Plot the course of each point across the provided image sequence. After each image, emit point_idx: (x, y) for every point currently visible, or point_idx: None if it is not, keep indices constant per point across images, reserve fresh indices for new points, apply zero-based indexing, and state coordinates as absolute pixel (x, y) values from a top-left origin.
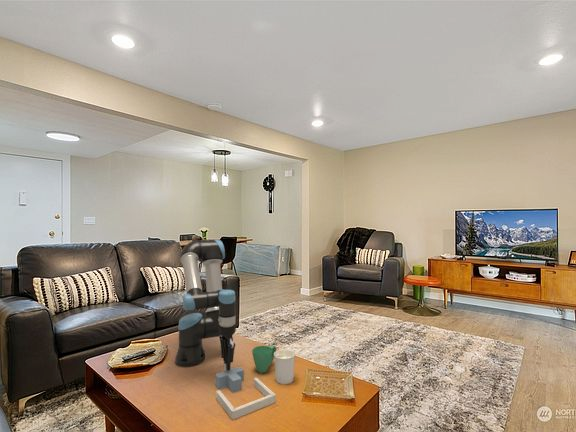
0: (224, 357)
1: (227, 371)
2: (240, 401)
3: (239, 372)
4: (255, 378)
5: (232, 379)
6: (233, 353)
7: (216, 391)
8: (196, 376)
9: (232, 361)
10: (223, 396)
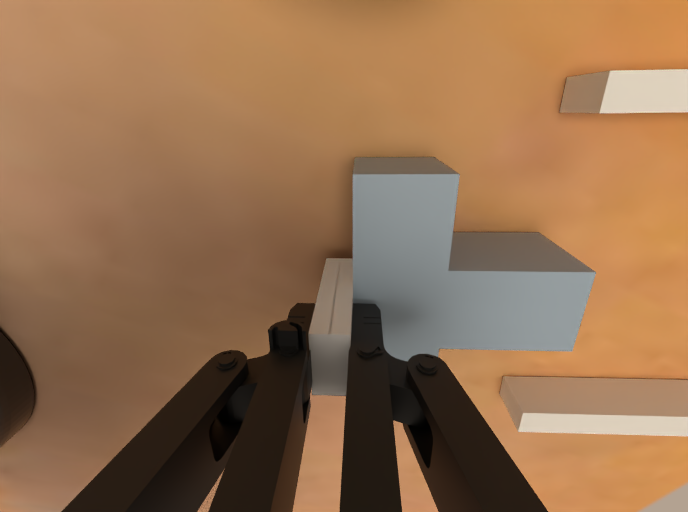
0: (303, 434)
1: None
2: (651, 298)
3: (450, 225)
4: (617, 94)
5: (542, 344)
6: (540, 510)
7: (520, 430)
8: None
9: (447, 372)
10: (614, 421)
